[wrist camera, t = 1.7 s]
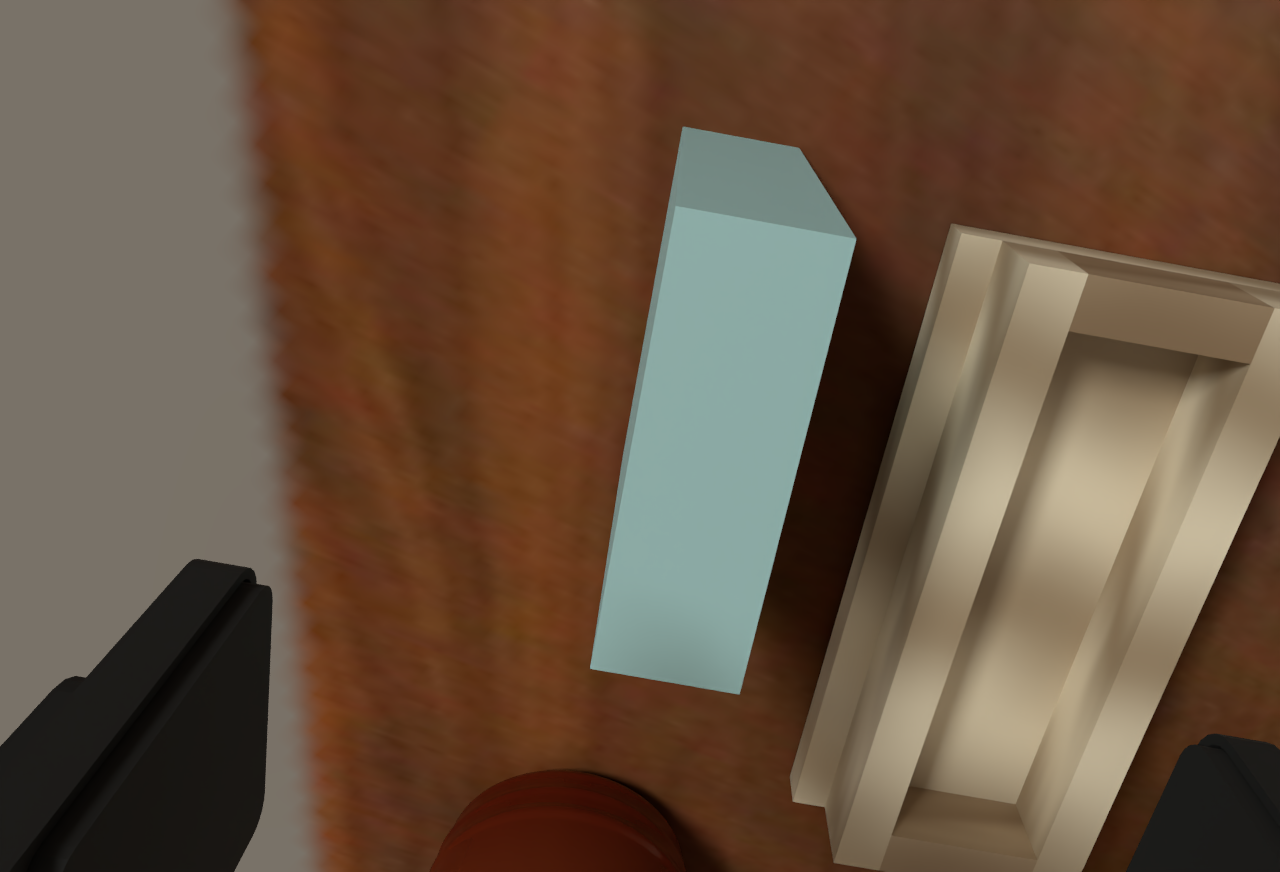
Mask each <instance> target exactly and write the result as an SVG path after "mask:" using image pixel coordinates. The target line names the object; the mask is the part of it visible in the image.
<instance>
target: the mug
mask: <svg viewBox="0 0 1280 872" xmlns="http://www.w3.org/2000/svg"><path fill="white" fill-rule="evenodd" d="M429 872H686V868H685V865H684V862H683V858H682V852H681V849H680V846H679V843H678V840H677V838H676V836H675V834H674V832H673V830H672V828H671V827H670V825H669V824H668V822H667V821H666V820H665V818H664V817H663V816H662V815H661V813H660V812H659V811H658V810H657V809H656V808H655V807H654V806H653V805H652V804H650V803H649V802H648V801H647V800H646V799H644V798H643V797H642V796H640V795H639V794H637V793H636V792H634V791H632V790H631V789H629V788H627V787H625V786H623V785H621V784H619V783H617V782H614V781H612V780H610V779H607V778H604V777H600V776H597V775H593V774H589V773H583V772H577V771H566V770H548V771H538V772H531V773H526V774H522V775H518V776H515V777H512V778H509V779H507V780H504V781H502V782H500V783H498V784H496V785H494V786H492V787H490V788H489V789H487V790H485V791H484V792H483V793H481V794H480V795H478V796H477V797H476V798H475V799H474V800H473V801H472V802H471V803H470V804H469V805H468V806H467V807H466V808H465V809H464V811H463V812H462V813H461V815H460V816H459V818H458V819H457V821H456V823H455V825H454V827H453V828H452V829H451V831H450V832H449V833H448V835H447V836H446V838H445V840H444V842H443V843H442V845H441V848H440V850H439V853H438V856H437V858H436V859H435V861H434V863H433V865H432V867H431V869H430V871H429Z"/></svg>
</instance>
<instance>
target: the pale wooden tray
mask: <svg viewBox="0 0 1280 872" xmlns="http://www.w3.org/2000/svg"><path fill="white" fill-rule="evenodd" d="M1279 437H1280V284H1278V283H1273V282H1267V281H1262V280H1257V279H1251V278H1246V277H1240V276H1235V275H1229V274H1224V273H1218V272H1213V271H1208V270H1202V269H1197V268H1191V267H1186V266H1180V265H1175V264H1169V263H1164V262H1158V261H1153V260H1148V259H1142V258H1137V257H1131V256H1126V255H1120V254H1115V253H1109V252H1104V251H1099V250H1093V249H1088V248H1082V247H1077V246H1071V245H1066V244H1060V243H1055V242H1049V241H1044V240H1039V239H1033V238H1028V237H1022V236H1017V235H1011V234H1006V233H1000V232H995V231H990V230H984V229H979V228H973V227H968V226H962V225H957V224H951V226H950V230H949V233H948V237H947V240H946V243H945V247H944V250H943V254H942V257H941V261H940V264H939V267H938V271H937V274H936V278H935V281H934V285H933V288H932V291H931V295H930V298H929V302H928V305H927V309H926V312H925V315H924V319H923V322H922V326H921V329H920V333H919V336H918V339H917V343H916V346H915V350H914V353H913V357H912V360H911V363H910V367H909V370H908V374H907V377H906V380H905V384H904V387H903V391H902V394H901V398H900V401H899V404H898V408H897V411H896V415H895V418H894V422H893V425H892V428H891V432H890V435H889V439H888V442H887V446H886V449H885V452H884V456H883V459H882V463H881V466H880V470H879V473H878V476H877V480H876V483H875V487H874V490H873V494H872V497H871V500H870V504H869V507H868V511H867V514H866V518H865V521H864V524H863V528H862V531H861V535H860V538H859V542H858V545H857V548H856V552H855V555H854V559H853V562H852V566H851V569H850V572H849V576H848V579H847V583H846V586H845V590H844V593H843V596H842V600H841V603H840V607H839V610H838V614H837V617H836V620H835V624H834V627H833V631H832V634H831V638H830V641H829V644H828V648H827V651H826V655H825V658H824V662H823V665H822V668H821V672H820V675H819V679H818V682H817V686H816V689H815V692H814V696H813V699H812V703H811V706H810V710H809V713H808V716H807V720H806V723H805V727H804V730H803V734H802V737H801V740H800V744H799V747H798V751H797V754H796V757H795V761H794V764H793V768H792V771H791V775H790V782H791V790H792V799H793V802H797V803H803V804H809V805H815V806H821V807H825V811H826V817H827V824H828V830H829V837H830V843H831V849H832V856H833V862H834V863H838V864H844V865H850V866H856V867H861V868H867V869H873V870H879V871H885V872H1082V870H1083V868H1084V866H1085V863H1086V861H1087V859H1088V857H1089V855H1090V852H1091V850H1092V848H1093V846H1094V844H1095V841H1096V839H1097V837H1098V835H1099V833H1100V831H1101V828H1102V826H1103V824H1104V822H1105V820H1106V817H1107V815H1108V813H1109V811H1110V809H1111V806H1112V804H1113V802H1114V800H1115V798H1116V795H1117V793H1118V791H1119V789H1120V787H1121V784H1122V782H1123V780H1124V778H1125V776H1126V773H1127V771H1128V769H1129V767H1130V765H1131V762H1132V760H1133V758H1134V756H1135V754H1136V751H1137V749H1138V747H1139V745H1140V743H1141V740H1142V738H1143V736H1144V734H1145V732H1146V729H1147V727H1148V725H1149V723H1150V721H1151V718H1152V716H1153V714H1154V712H1155V710H1156V707H1157V705H1158V703H1159V701H1160V699H1161V696H1162V694H1163V692H1164V690H1165V688H1166V685H1167V683H1168V681H1169V679H1170V677H1171V674H1172V672H1173V670H1174V668H1175V666H1176V663H1177V661H1178V659H1179V657H1180V655H1181V652H1182V650H1183V648H1184V646H1185V644H1186V641H1187V639H1188V637H1189V635H1190V633H1191V630H1192V628H1193V626H1194V624H1195V622H1196V619H1197V617H1198V615H1199V613H1200V611H1201V608H1202V606H1203V604H1204V602H1205V600H1206V597H1207V595H1208V593H1209V591H1210V589H1211V586H1212V584H1213V582H1214V580H1215V578H1216V576H1217V573H1218V571H1219V569H1220V567H1221V565H1222V562H1223V560H1224V558H1225V556H1226V554H1227V551H1228V549H1229V547H1230V545H1231V543H1232V540H1233V538H1234V536H1235V534H1236V532H1237V529H1238V527H1239V525H1240V523H1241V521H1242V518H1243V516H1244V514H1245V512H1246V510H1247V507H1248V505H1249V503H1250V501H1251V499H1252V496H1253V494H1254V492H1255V490H1256V488H1257V485H1258V483H1259V481H1260V479H1261V477H1262V474H1263V472H1264V470H1265V468H1266V466H1267V463H1268V461H1269V459H1270V457H1271V455H1272V452H1273V450H1274V448H1275V446H1276V444H1277V441H1278V439H1279Z"/></svg>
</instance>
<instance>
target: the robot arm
mask: <svg viewBox="0 0 1280 872" xmlns="http://www.w3.org/2000/svg"><path fill="white" fill-rule="evenodd" d="M271 625H272V591H271V588H270V587H269V586H265V585H259V584H256V576H255V572H254V571H253V570H252V569H251V568H247V567H241V566H235V565H229V564H224V563H218V562H212V561H206V560H200V559H194V560H192V561H191V562H189V563H188V564H187V565H186V566H185V567H184V568H183V569H182V571H181V572H180V573H179V574H178V575H177V576H176V577H175V578H174V580H173V581H172V582H171V583H170V584H169V585H168V586H167V587H166V588H165V590H164V591H163V592H162V593H161V594H160V595H159V596H158V597H157V599H156V600H155V601H154V602H153V603H152V604H151V605H150V606H149V608H148V609H147V610H146V611H145V612H144V613H143V614H142V615H141V617H140V618H139V619H138V620H137V621H136V622H135V623H134V624H133V626H132V627H131V628H130V629H129V630H128V631H127V633H125V635H124V636H123V637H122V638H121V639H120V640H119V641H118V642H117V644H116V645H115V646H114V647H113V648H112V649H111V650H110V651H109V653H108V654H107V655H106V656H105V657H104V658H103V659H102V661H101V662H100V663H99V664H98V665H97V666H96V667H95V668H94V669H93V671H92V672H91V673H90V674H89V675H88V676H87V677H86V678H84V677H78V676H74V677H71V678H68V679H65V680H64V681H63V682H61V683H60V684H59V685H58V686H56V688H54V689H53V690H52V691H51V692H50V693H49V694H48V695H47V696H46V698H45V699H44V700H43V701H42V702H41V703H40V704H39V705H38V706H37V707H36V708H35V709H34V711H33V712H32V713H31V714H30V715H29V716H28V717H27V718H26V719H25V720H24V721H23V723H22V724H21V725H20V726H19V727H18V728H17V729H16V730H15V731H14V732H13V733H12V734H11V736H10V737H9V738H8V739H7V740H6V741H5V742H4V743H3V744H2V745H1V746H0V872H234V871H235V869H236V867H237V865H238V863H239V861H240V859H241V857H242V855H243V853H244V851H245V849H246V848H247V846H248V844H249V842H250V840H251V838H252V836H253V834H254V832H255V830H256V827H257V824H258V822H259V819H260V815H261V812H262V807H263V802H264V794H265V772H266V748H267V746H266V745H267V724H268V699H269V698H268V697H269V674H270V650H271ZM1126 872H1280V750H1279V749H1278V748H1277V747H1276V746H1275V745H1272V744H1270V743H1267V742H1261V741H1256V740H1250V739H1244V738H1238V737H1232V736H1226V735H1221V734H1211V735H1207V736H1206V737H1205V738H1203V739H1202V740H1201V741H1200V742H1199V744H1198V745H1190V746H1188V747H1187V748H1186V749H1184V751H1183V752H1182V754H1181V755H1180V757H1179V759H1178V761H1177V764H1176V766H1175V768H1174V770H1173V772H1172V774H1171V776H1170V779H1169V781H1168V783H1167V785H1166V787H1165V789H1164V791H1163V794H1162V796H1161V798H1160V800H1159V802H1158V804H1157V806H1156V809H1155V811H1154V813H1153V815H1152V817H1151V819H1150V821H1149V824H1148V826H1147V828H1146V830H1145V832H1144V834H1143V836H1142V839H1141V841H1140V843H1139V845H1138V847H1137V849H1136V851H1135V854H1134V856H1133V858H1132V860H1131V862H1130V864H1129V866H1128V869H1127V871H1126Z"/></svg>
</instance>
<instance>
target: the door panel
mask: <svg viewBox="0 0 1280 872" xmlns="http://www.w3.org/2000/svg"><path fill="white" fill-rule="evenodd" d="M855 243H856V237H855V236H854V234H853V233H852V231H851V229H850V228H849V226H848V225H847V223H846V221H845V220H844V218H843V217H842V215H841V214H840V212H839V210H838V209H837V207H836V206H835V204H834V202H833V201H832V199H831V198H830V196H829V195H828V193H827V191H826V190H825V188H824V187H823V185H822V183H821V182H820V180H819V179H818V177H817V175H816V174H815V172H814V171H813V169H812V168H811V166H810V164H809V163H808V161H807V160H806V158H805V156H804V155H803V153H802V152H801V150H800V149H799V148H796V147H791V146H785V145H780V144H774V143H769V142H763V141H758V140H753V139H747V138H742V137H736V136H731V135H726V134H720V133H715V132H709V131H704V130H698V129H693V128H688V127H683V129H682V134H681V140H680V145H679V151H678V156H677V162H676V167H675V173H674V178H673V184H672V189H671V194H670V200H669V205H668V211H667V216H666V222H665V227H664V233H663V238H662V244H661V249H660V255H659V260H658V266H657V271H656V277H655V282H654V288H653V293H652V299H651V304H650V310H649V315H648V321H647V326H646V332H645V337H644V343H643V348H642V354H641V359H640V365H639V370H638V376H637V381H636V387H635V392H634V398H633V403H632V409H631V414H630V420H629V425H628V431H627V436H626V442H625V447H624V453H623V459H622V465H621V472H620V478H619V485H618V491H617V498H616V504H615V511H614V517H613V524H612V530H611V537H610V543H609V550H608V556H607V562H606V569H605V575H604V582H603V588H602V595H601V601H600V608H599V614H598V621H597V627H596V634H595V640H594V647H593V653H592V660H591V666H590V669H595V670H600V671H606V672H612V673H618V674H624V675H629V676H635V677H641V678H647V679H653V680H659V681H664V682H670V683H676V684H682V685H688V686H693V687H699V688H705V689H711V690H717V691H722V692H728V693H734V694H740V690H741V687H742V683H743V679H744V675H745V671H746V667H747V663H748V659H749V655H750V652H751V648H752V644H753V640H754V636H755V632H756V628H757V624H758V620H759V616H760V613H761V609H762V605H763V601H764V597H765V593H766V589H767V585H768V581H769V578H770V574H771V570H772V566H773V562H774V558H775V554H776V550H777V546H778V543H779V539H780V535H781V531H782V527H783V523H784V519H785V515H786V511H787V507H788V504H789V500H790V496H791V492H792V488H793V484H794V480H795V476H796V472H797V469H798V465H799V461H800V457H801V453H802V449H803V445H804V441H805V437H806V434H807V430H808V426H809V422H810V418H811V414H812V410H813V406H814V402H815V398H816V395H817V391H818V387H819V383H820V379H821V375H822V371H823V367H824V363H825V360H826V356H827V352H828V348H829V344H830V340H831V336H832V332H833V328H834V324H835V321H836V317H837V313H838V309H839V305H840V301H841V297H842V293H843V289H844V286H845V282H846V278H847V274H848V270H849V266H850V262H851V258H852V254H853V251H854V247H855Z"/></svg>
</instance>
